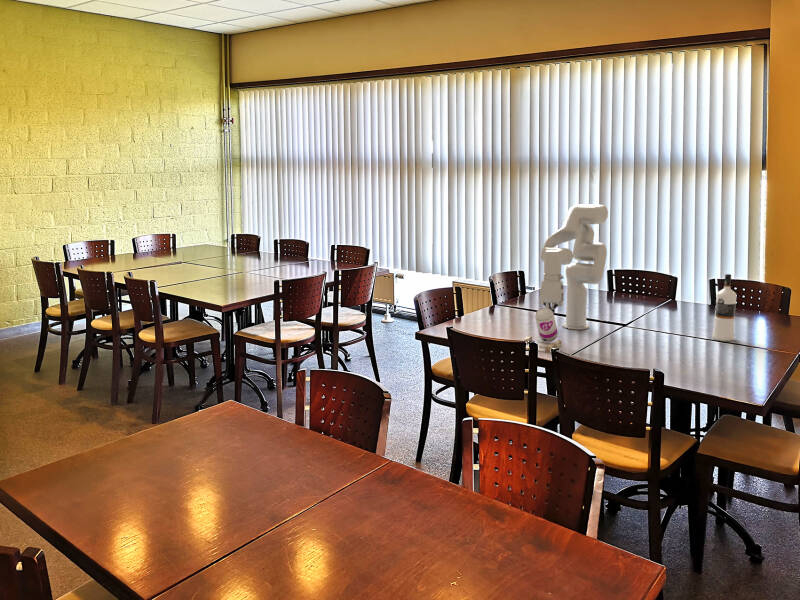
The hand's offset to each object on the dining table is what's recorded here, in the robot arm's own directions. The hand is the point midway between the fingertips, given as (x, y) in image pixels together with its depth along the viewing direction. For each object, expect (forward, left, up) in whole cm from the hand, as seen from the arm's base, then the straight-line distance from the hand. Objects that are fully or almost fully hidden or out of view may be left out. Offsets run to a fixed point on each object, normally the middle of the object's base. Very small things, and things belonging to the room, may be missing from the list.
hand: (550, 317), depth 331 cm
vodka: (-45, +65, -11) cm, 80 cm away
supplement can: (+1, 0, -9) cm, 9 cm away
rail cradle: (+13, 0, -11) cm, 17 cm away
